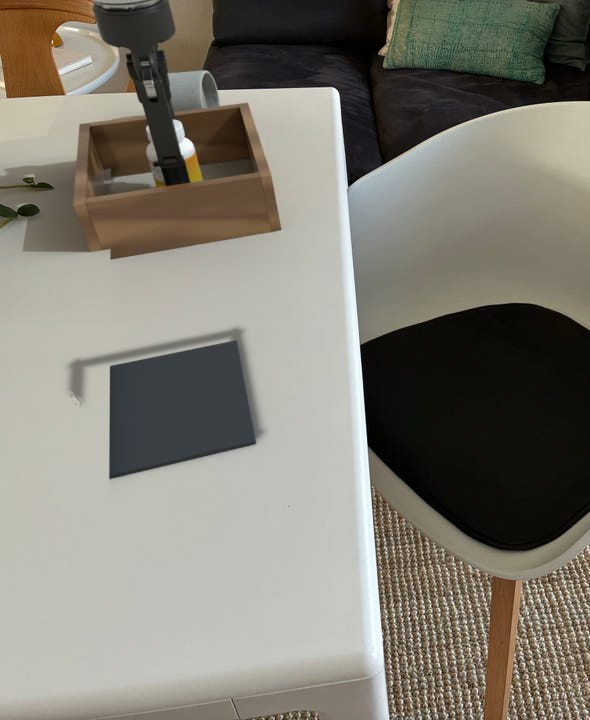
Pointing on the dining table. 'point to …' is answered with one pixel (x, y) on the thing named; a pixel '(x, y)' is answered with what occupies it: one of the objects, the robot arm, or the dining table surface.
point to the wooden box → (176, 202)
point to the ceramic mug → (193, 90)
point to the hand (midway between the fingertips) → (184, 199)
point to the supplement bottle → (186, 152)
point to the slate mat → (177, 408)
